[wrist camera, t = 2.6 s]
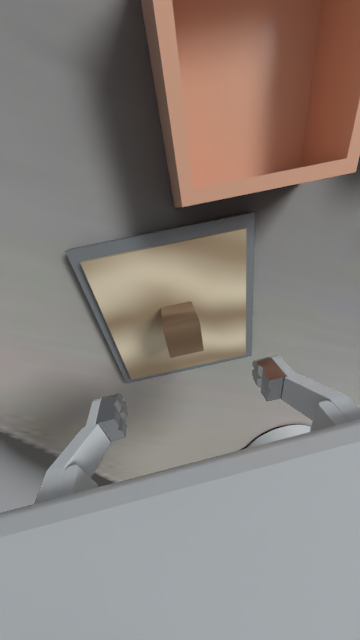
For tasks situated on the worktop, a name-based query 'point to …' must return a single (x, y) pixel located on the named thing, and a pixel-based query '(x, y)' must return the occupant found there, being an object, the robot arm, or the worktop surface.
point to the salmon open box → (254, 92)
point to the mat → (159, 239)
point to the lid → (174, 302)
